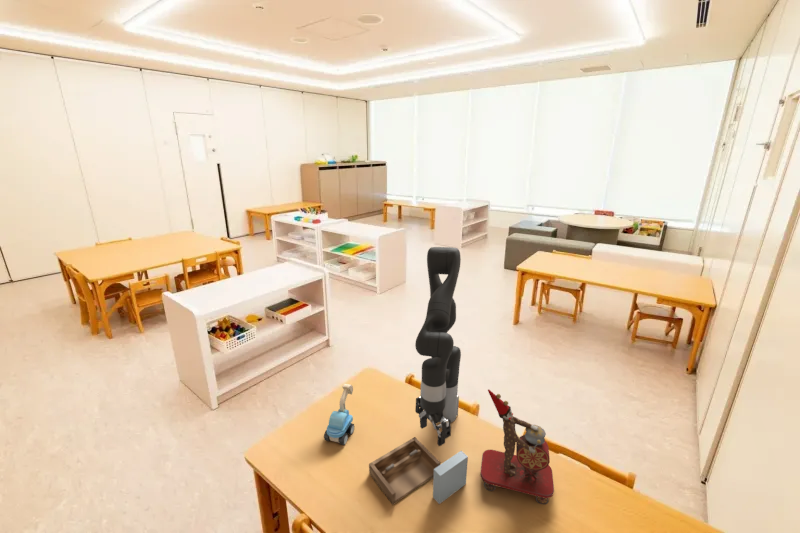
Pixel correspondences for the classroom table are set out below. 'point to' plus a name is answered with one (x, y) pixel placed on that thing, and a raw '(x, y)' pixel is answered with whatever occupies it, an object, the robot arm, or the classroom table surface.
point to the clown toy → (519, 458)
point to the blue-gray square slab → (450, 476)
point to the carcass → (403, 469)
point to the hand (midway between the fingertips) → (431, 435)
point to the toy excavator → (340, 421)
